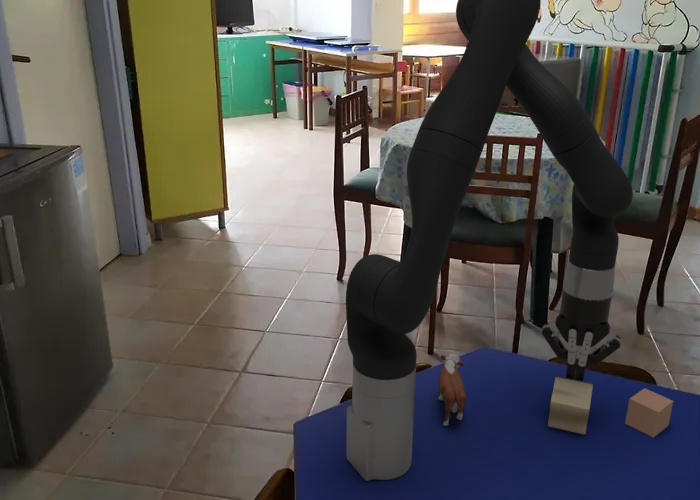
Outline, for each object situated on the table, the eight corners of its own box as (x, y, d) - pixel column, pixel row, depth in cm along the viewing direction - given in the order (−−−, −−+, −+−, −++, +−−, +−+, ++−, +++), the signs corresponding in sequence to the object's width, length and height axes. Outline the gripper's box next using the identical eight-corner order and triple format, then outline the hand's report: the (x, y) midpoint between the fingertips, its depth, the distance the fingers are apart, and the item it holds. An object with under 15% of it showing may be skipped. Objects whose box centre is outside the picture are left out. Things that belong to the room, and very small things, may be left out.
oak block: (589, 407, 115) (585, 434, 111) (552, 400, 117) (547, 426, 113) (593, 383, 112) (589, 409, 107) (555, 375, 114) (550, 401, 109)
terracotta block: (653, 438, 110) (658, 412, 108) (624, 423, 114) (629, 398, 112) (668, 426, 113) (673, 401, 111) (639, 412, 117) (644, 388, 115)
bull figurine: (460, 388, 123) (463, 349, 121) (465, 432, 111) (468, 390, 108) (436, 386, 124) (439, 347, 121) (438, 431, 111) (441, 388, 108)
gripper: (632, 286, 109) (616, 378, 115) (548, 273, 114) (537, 363, 120) (631, 304, 103) (614, 401, 109) (542, 290, 107) (531, 384, 113)
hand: (573, 381), depth 114 cm, fingers closed
